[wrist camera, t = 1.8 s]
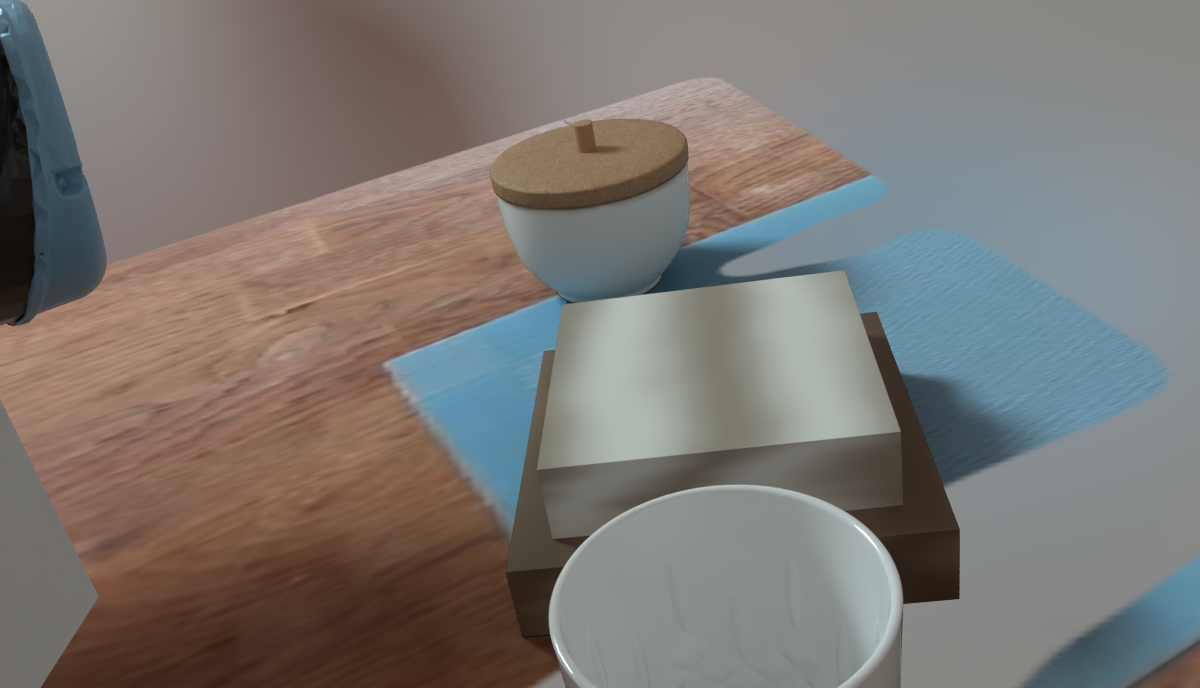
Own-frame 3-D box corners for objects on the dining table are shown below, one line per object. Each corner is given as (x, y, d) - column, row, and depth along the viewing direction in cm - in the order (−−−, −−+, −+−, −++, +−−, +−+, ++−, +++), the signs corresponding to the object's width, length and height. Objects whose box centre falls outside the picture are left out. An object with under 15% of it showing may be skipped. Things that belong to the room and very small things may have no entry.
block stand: (522, 637, 38) (487, 502, 36) (555, 405, 51) (531, 293, 49) (959, 598, 37) (959, 453, 34) (878, 369, 50) (874, 250, 47)
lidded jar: (720, 238, 65) (702, 84, 60) (678, 327, 56) (654, 155, 52) (552, 241, 68) (524, 95, 64) (488, 326, 60) (450, 165, 55)
